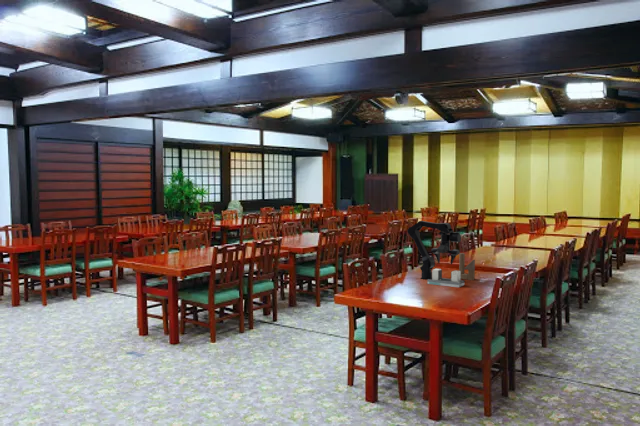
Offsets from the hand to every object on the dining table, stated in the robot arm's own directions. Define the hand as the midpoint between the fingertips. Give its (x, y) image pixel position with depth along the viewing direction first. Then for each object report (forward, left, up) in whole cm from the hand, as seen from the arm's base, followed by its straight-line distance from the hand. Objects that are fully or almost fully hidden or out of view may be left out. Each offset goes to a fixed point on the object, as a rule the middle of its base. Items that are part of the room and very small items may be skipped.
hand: (445, 263), depth 362 cm
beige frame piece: (+10, +15, -12) cm, 22 cm away
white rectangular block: (-1, -11, -10) cm, 15 cm away
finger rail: (+5, -11, -12) cm, 17 cm away
